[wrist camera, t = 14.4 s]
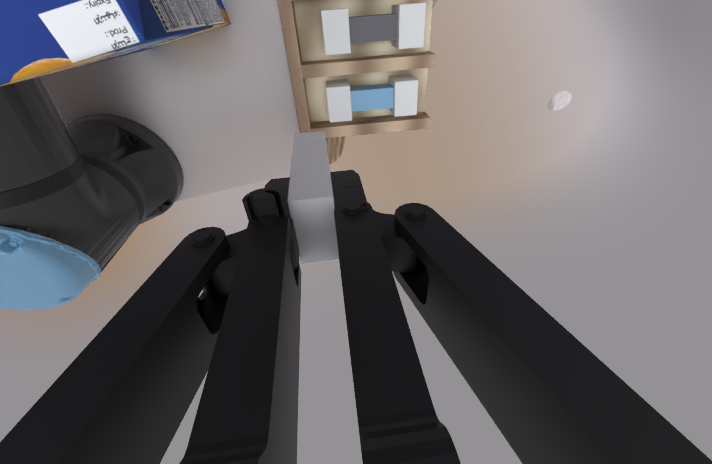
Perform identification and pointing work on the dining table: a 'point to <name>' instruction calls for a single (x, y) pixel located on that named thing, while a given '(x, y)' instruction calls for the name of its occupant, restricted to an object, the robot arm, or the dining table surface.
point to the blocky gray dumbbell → (374, 28)
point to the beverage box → (93, 31)
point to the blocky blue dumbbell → (372, 97)
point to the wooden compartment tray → (350, 67)
